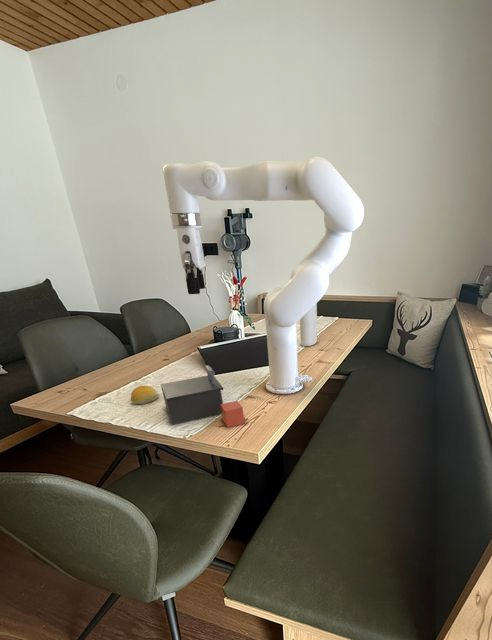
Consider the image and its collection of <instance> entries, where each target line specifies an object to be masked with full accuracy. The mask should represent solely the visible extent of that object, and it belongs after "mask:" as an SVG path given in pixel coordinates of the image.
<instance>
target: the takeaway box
mask: <svg viewBox="0 0 492 640" xmlns="http://www.w3.org/2000/svg"><path fill="white" fill-rule="evenodd" d="M160 388H161V391H162V395H163V400H164V405H165V408H166V411H167V414H168V417H169V419H170V422H171V425H173V426H174V425H178V424H181V423H186V422H191V421H194V420H199V419H204V418H209V417H212V416H213V417H214V416H217V415H222V413H221V406H220V404H224V403H223V396H222V390H219V391H214V392H209V393H204V394H199V395H194V396H189V397H184V398H179V399H174V400H170V401H167V400H166V398H165V395H164V392H163V390H162V387H161V386H160Z"/></svg>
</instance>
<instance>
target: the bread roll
mask: <svg viewBox="0 0 492 640" xmlns="http://www.w3.org/2000/svg"><path fill="white" fill-rule="evenodd" d="M158 395H159V394H158V391H157V390H156V388H154V387H153V386H151V385H139V386H137V387H135V388H134V389H133V390H132V391H131V393H130V402H131V403H132V404H135V405H146V404H149V403H151V402H154V401H155V400H156V399H157V398H158V397H159V396H158Z"/></svg>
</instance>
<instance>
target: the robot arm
mask: <svg viewBox="0 0 492 640" xmlns="http://www.w3.org/2000/svg"><path fill="white" fill-rule="evenodd" d="M162 173H163V180H164V185H165V191H166V197H167V203H168V208H169V216H170V220H171V226H172V229H173V230H176V234H177V241H178V248H179V254H180V261H181V266H182V269H184V274H185V275H184V276H185V283H186V287H187V294H188V295H200V294H201V290H204V289H205V288H206V283H205V277H204V272H203V269H204V268H205V267H206V261H205V255H204V249H203V244H202V239H201V237H202V236H201V233H200V229H203V225H202V219H201V210H200V204H199V203H200V202H199V197H204V198H205V199H207V200H210V201H255V202H256V201H257V202H267V201H268V202H269V201H270V202H271V201H273V202H275V201H276V202H277V201H313V202H315V204H316V205H317V206H318V207H319V209H320V210H321V211H322V212H323V223H324V230H323V235H322V237H321V239H320V240H319V241H318V242H317V244H316V245H314V247H313V249H311V251H310V252H309V253H307V255H306V256H304V258H303V259H302V260H301V261H299V262H298V263H297V264H296V265H295V266H294V268H293V269H292V271H291V274H290V280H289V281H288V282H287V283H286V284H285V285H284V286H283V287H280V286H279V287H275V288H272V289H270V290H269V291H268V292H267V293H266V295H265V297H264V300H263V314H264V321H265V331H266V344H267V345H266V346H267V359H268V371H269V380H268V381H267V382H266V384H265V389H266V390H267V391H268V392H269V393H272V394H278V395H289V394H294V393H297V392H299V391H300V390H302V389H303V387H304V383H310V384H311V383H312V381H313V379H312V378H313V377H312V376H309V374H302V375H301V374H300V371H299V365H298V364H299V363H298V331H297V323H298V322H300V319H301V318H302V317H303V316H304V315H305V314H306V313H307V312H308V311H309V310H310V309H311V308H312V307H313V306H314V305H315V304H316V303H318V302H320V301H321V299H322V298H323V297H324V296H325V293H326V292H327V291H328V288H329V285H330V275H331V274H333V272H335V270H336V269H337V268H338V267H339V265H340V264H341V263H342V262H343V261H344V260H345V258H346V257H347V255H348V252H349V251H350V247H351V241H352V235H353V232H354V231H356V230H357V229H359V228H360V226H361V225H362V223H363V221H364V217H365V208H364V204H363V202H362V200H361V197H359V195H358V194H357V193H356V191H354V189H353V188H352V187H351V186H350V185H349V184H348V182H347V181H346V180H345V179H344V177H343V176H342V175H341V174H340V172H339V171H338V170H337V169H336V168H335V166H334V165H333V164H332V163H331V162H330V161H329V160H327V159H326V158H325V157H322V156H313V157H310V158H309V159H307V160H261V161H258V162H256V163H253V164H251V165H250V164H249V165H246V166H236V167H222V166H221V165H220V164H218V163H217V162H216V161H212V160H204V161H199V162H192V163H185V162H169V163H167V164H165V165H164V166H163V169H162Z"/></svg>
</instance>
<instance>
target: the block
mask: <svg viewBox="0 0 492 640" xmlns="http://www.w3.org/2000/svg"><path fill="white" fill-rule="evenodd" d="M220 406H221V413H222V414H221V418H222V419H221V420H222V421H223V423H224V424H225V425H226V427H227V428H230V427H234V426H235V427H236V426H239V425H243V424H245V415H244V409H243V405H241V403H240V402H239V401H238V400H234V401H229V402H224V403H223V404H220Z"/></svg>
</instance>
